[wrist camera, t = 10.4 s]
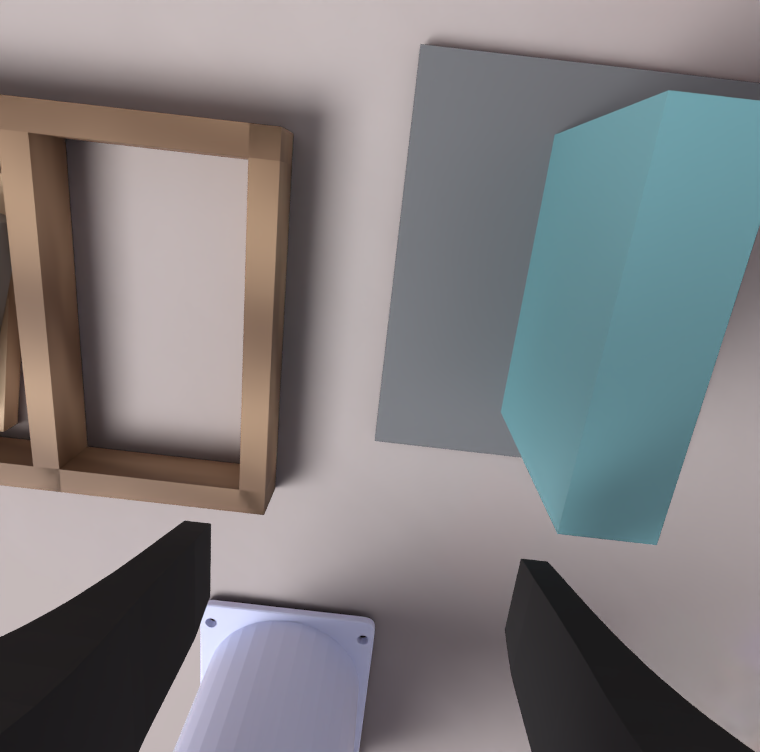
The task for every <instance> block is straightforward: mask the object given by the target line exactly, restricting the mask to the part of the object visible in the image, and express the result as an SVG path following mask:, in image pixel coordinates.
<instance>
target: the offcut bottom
mask: <svg viewBox="0 0 760 752" xmlns="http://www.w3.org/2000/svg"><path fill="white" fill-rule="evenodd" d="M0 213H1V214H4V215H6V211H5V202H4V193H3V184H2V174H1V169H0ZM20 367H21V348H20V339H19V330H18V321H17V312H16V303H15V293H14V284H13V275H12V273H11V278H10V283H9V289H8V294H7V300H6V305H5V310H4V316H3V321H2V327H1V332H0V431H1V432H4V431H6V430H8V429H9V428H11V427H13V426H14V425H16V424H18V405H19V386H20Z"/></svg>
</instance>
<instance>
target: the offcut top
mask: <svg viewBox="0 0 760 752" xmlns="http://www.w3.org/2000/svg"><path fill="white" fill-rule="evenodd" d="M11 273H12V266H11V257H10V248H9V239H8V229H7V220H6V215H4V214H1V213H0V332H1V327H2V321H3V316H4V310H5V305H6V300H7V294H8V289H9V283H10V278H11Z"/></svg>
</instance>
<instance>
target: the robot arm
mask: <svg viewBox="0 0 760 752" xmlns="http://www.w3.org/2000/svg"><path fill="white" fill-rule="evenodd" d="M210 564H211V524H209V523H200V522H191V521H184V522H182V523H181V524H179V525H178V526H177V527H175V528H174V529H173V530H171V531H170V532H168V533H167V534H166V535H164V536H163V537H162V538H160V539H159V540H158V541H156V542H155V543H154V544H152V545H151V546H149V547H148V548H147V549H145V550H144V551H143V552H141V553H140V554H139V555H137V556H136V557H134V558H133V559H132V560H130V561H129V562H127V563H126V564H124V565H123V566H122V567H120V568H119V569H117V570H116V571H115V572H113V573H111V574H110V575H108V576H107V577H105V578H104V579H102V580H101V581H99V582H98V583H96V584H94V585H93V586H91V587H90V588H88V589H87V590H85V591H84V592H82V593H81V594H79V595H77V596H76V597H74V598H73V599H71V600H69V601H68V602H66V603H64V604H62V605H61V606H59V607H57V608H56V609H54V610H52V611H50V612H48V613H47V614H45V615H43V616H41V617H39V618H37V619H35V620H34V621H32V622H30V623H28V624H26V625H24V626H22V627H20V628H18V629H16V630H14V631H12V632H10V633H8V634H6V635H4V636H1V637H0V752H139V750H140V748H141V745H142V743H143V741H144V739H145V737H146V735H147V733H148V731H149V729H150V727H151V725H152V723H153V721H154V719H155V717H156V715H157V713H158V711H159V709H160V707H161V705H162V703H163V701H164V699H165V697H166V695H167V693H168V691H169V689H170V687H171V685H172V683H173V681H174V679H175V677H176V675H177V673H178V672H179V669H180V667H181V665H182V663H183V661H184V659H185V657H186V655H187V653H188V651H189V649H190V647H191V645H192V643H193V641H194V639H195V637H196V634H197V632H198V629H199V626H200V624H201V653H200V687H199V690H198V692H197V694H196V697H195V699H194V702H193V704H192V707H191V709H190V712H189V714H188V717H187V719H186V722H185V724H184V726H183V729H182V731H181V734H180V736H179V739H178V741H177V744H176V746H175V749H174V751H173V752H359V747H360V740H361V732H362V725H363V717H364V710H365V702H366V694H367V687H368V679H369V672H370V664H371V657H372V649H373V641H374V634H375V623H374V622H373V620H371V619H370V618H367V617H361V616H352V615H344V614H335V613H326V612H317V611H308V610H299V609H290V608H281V607H273V606H264V605H255V604H246V603H237V602H228V601H219V600H209V598H210ZM209 618H212V619H214V620H215V621H212V620H210V619H209ZM505 634H506V642H507V649H508V657H509V663H510V670H511V675H512V679H513V683H514V687H515V691H516V695H517V699H518V703H519V706H520V710H521V714H522V718H523V721H524V725H525V729H526V733H527V736H528V740H529V744H530V747H531V751H532V752H755V751H753V750H752V749H750V748H749V747H747V746H746V745H745V744H743V743H742V742H740V741H739V740H738V739H736V738H735V737H734V736H732V735H731V734H730V733H728V732H727V731H726V730H724V729H723V728H722V727H720V726H719V725H718V724H716V723H715V722H713V721H712V720H711V719H709V718H708V717H707V716H706V715H704V714H703V713H702V712H700V711H699V710H698V709H697V708H695V707H694V706H693V705H692V704H690V703H689V702H688V701H687V700H686V699H684V698H683V697H682V696H681V695H680V694H678V693H677V692H676V691H675V690H674V689H673V688H671V687H670V686H669V685H668V684H667V683H665V682H664V681H663V680H662V679H661V678H660V677H658V676H657V675H656V674H655V673H654V672H653V671H652V670H651V669H650V668H648V667H647V666H646V665H645V664H644V663H643V662H642V661H641V660H640V659H639V658H638V657H637V656H636V655H635V654H634V653H633V652H632V651H631V650H630V649H629V648H628V647H627V646H625V645H624V644H623V643H622V642H621V641H620V640H619V639H618V638H617V637H616V636H615V635H614V633H613V632H612V631H611V630H610V629H609V628H608V627H607V626H606V625H605V624H604V623H603V622H602V621H601V620H600V619H599V618H598V617H597V616H596V615H595V614H594V612H593V611H592V610H591V609H590V608H589V607H588V606H587V605H586V604H585V603H584V602H583V600H582V599H581V598H580V597H579V596H578V595H577V594H576V593H575V592H574V590H573V589H572V588H571V587H570V586H569V585H568V584H567V583H566V581H565V580H564V579H563V578H562V577H561V576H560V575H559V574H558V573H557V571H556V570H555V569H554V568H553V567H552V566H551V565H550V564H549V563H548V562H546V561H537V560H528V559H521V561H520V566H519V570H518V574H517V579H516V583H515V587H514V592H513V596H512V601H511V605H510V609H509V614H508V618H507V622H506V627H505ZM362 635H364V636H366V638H362V637H359V636H362Z"/></svg>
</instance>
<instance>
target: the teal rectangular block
mask: <svg viewBox="0 0 760 752" xmlns="http://www.w3.org/2000/svg"><path fill="white" fill-rule="evenodd" d="M759 226H760V101H759V100H750V99H741V98H732V97H724V96H715V95H706V94H698V93H689V92H680V91H671V90H668V91H665V92H663V93H660V94H658V95H655V96H653V97H650V98H647V99H645V100H642V101H640V102H637V103H635V104H632V105H630V106H627V107H624V108H622V109H619V110H617V111H614V112H612V113H609V114H607V115H604V116H601V117H599V118H596V119H594V120H591V121H589V122H586V123H584V124H581V125H578V126H576V127H573V128H571V129H568V130H566V131H563V132H561V133H558V134H555V136H554V141H553V146H552V151H551V156H550V161H549V167H548V172H547V177H546V182H545V187H544V192H543V197H542V203H541V208H540V213H539V218H538V223H537V228H536V233H535V239H534V244H533V249H532V254H531V259H530V264H529V269H528V275H527V280H526V285H525V290H524V295H523V300H522V305H521V311H520V316H519V321H518V326H517V331H516V336H515V341H514V347H513V352H512V357H511V362H510V367H509V372H508V378H507V383H506V388H505V393H504V398H503V403H502V408H501V414H502V416H503V418H504V420H505V422H506V425H507V427H508V429H509V431H510V433H511V435H512V437H513V440H514V442H515V444H516V446H517V448H518V450H519V452H520V454H521V457H522V459H523V461H524V463H525V465H526V467H527V469H528V472H529V474H530V476H531V478H532V480H533V482H534V484H535V487H536V489H537V491H538V493H539V495H540V497H541V499H542V502H543V504H544V506H545V508H546V510H547V512H548V514H549V517H550V519H551V521H552V523H553V525H554V527H555V529H556V531H557V534H564V535H573V536H581V537H590V538H599V539H608V540H617V541H626V542H634V543H643V544H652V545H657V543H658V540H659V536H660V533H661V530H662V527H663V524H664V521H665V518H666V515H667V512H668V508H669V505H670V502H671V499H672V496H673V493H674V490H675V487H676V484H677V480H678V477H679V474H680V471H681V468H682V465H683V462H684V459H685V456H686V453H687V449H688V446H689V443H690V440H691V437H692V434H693V431H694V428H695V425H696V421H697V418H698V415H699V412H700V409H701V406H702V403H703V400H704V397H705V393H706V390H707V387H708V384H709V381H710V378H711V375H712V372H713V369H714V365H715V362H716V359H717V356H718V353H719V350H720V347H721V344H722V341H723V338H724V334H725V331H726V328H727V325H728V322H729V319H730V316H731V313H732V310H733V306H734V303H735V300H736V297H737V294H738V291H739V288H740V285H741V282H742V278H743V275H744V272H745V269H746V266H747V263H748V260H749V257H750V254H751V251H752V247H753V244H754V241H755V238H756V235H757V232H758V229H759Z"/></svg>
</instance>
